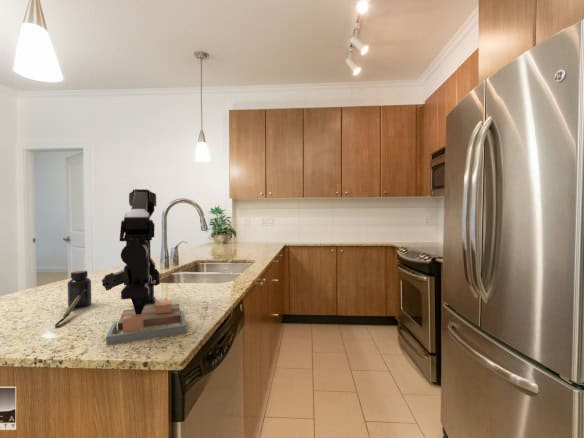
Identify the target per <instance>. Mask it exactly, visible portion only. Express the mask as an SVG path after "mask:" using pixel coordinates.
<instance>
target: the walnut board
mask: <svg viewBox="0 0 584 438" xmlns="http://www.w3.org/2000/svg"><path fill="white" fill-rule="evenodd" d="M180 309H181V308H180V303H176V304H172V312H168V313H160V314H156V306H150V307H149V306H148V307H144V308H143V311H142V313H141V314H143V321H144V327H150V326H158V325H159V326H160V325H166V324H172V323H173V324H174V323H181V311H180ZM122 311H123V312H122V313H121V316H120V318H119V320H118V322H117V331H120V330H123V320H122V319H123V318H124V316H127V315H136V313H135V310H134V308H132V309H123V310H122Z"/></svg>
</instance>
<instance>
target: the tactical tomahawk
mask: <svg viewBox="0 0 584 438" xmlns="http://www.w3.org/2000/svg"><path fill="white" fill-rule="evenodd" d="M84 292H86V289H85V290H83V292H82V293H80V294H79V295H78V296H77V297H75V298H74V299H73V300H72V301H71V302H70V303H69V305H70V304H71V303H72V302H73V303H72V304H71V306H70V307H68V309H67V310H66V312H65V313H64V314H63V316H62V317H63V318H61V319H59V321H57V322H56V323H55V324H54V327H57V326H59V325H60V323H62V322H64V320H66V319H67V318H68V317H69V316H70V314H71V312H72V311H73V310H74V309H75V308H74V307H75V305H76V304H77V302H78V300H79V299H80V297H81V295H82V294H83V293H84ZM69 305H68V304H67V306H69Z"/></svg>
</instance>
